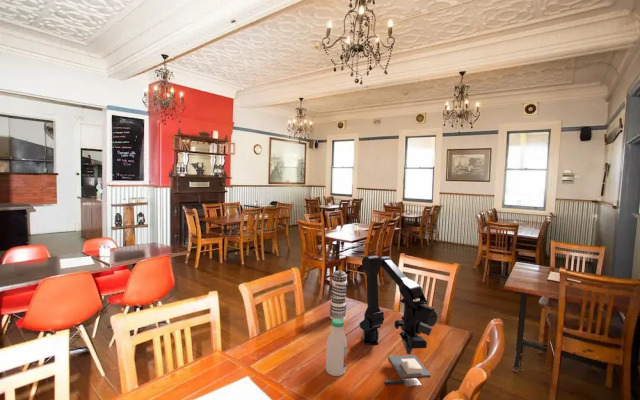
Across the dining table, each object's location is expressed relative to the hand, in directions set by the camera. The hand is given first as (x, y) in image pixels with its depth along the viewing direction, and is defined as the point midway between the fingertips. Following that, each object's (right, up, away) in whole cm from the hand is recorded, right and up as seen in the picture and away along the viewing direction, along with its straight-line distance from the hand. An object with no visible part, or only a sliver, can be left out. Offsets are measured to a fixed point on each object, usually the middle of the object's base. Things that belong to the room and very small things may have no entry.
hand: (408, 353), depth 131 cm
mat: (0, -5, 0) cm, 5 cm away
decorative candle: (-26, -1, +44) cm, 51 cm away
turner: (-5, -6, -11) cm, 13 cm away
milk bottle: (-30, -4, -5) cm, 30 cm away
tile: (0, -3, +1) cm, 3 cm away
